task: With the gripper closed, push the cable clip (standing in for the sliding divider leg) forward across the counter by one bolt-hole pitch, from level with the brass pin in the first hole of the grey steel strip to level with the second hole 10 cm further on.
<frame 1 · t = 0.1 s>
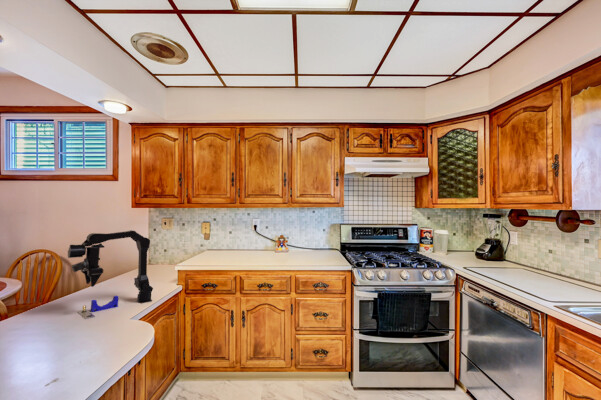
hand: (90, 285, 143), 15 cm above the table, fingers open, 9 cm apart
steel strip: (85, 314, 139), on the table
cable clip: (104, 309, 149), on the table
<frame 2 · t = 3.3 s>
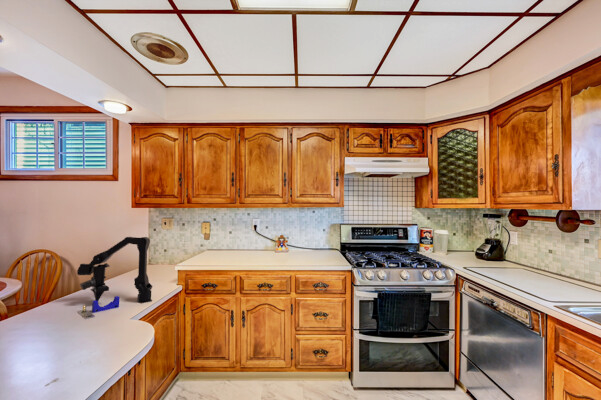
hand: (96, 301, 157), 1 cm above the table, fingers closed
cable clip: (105, 309, 148), on the table
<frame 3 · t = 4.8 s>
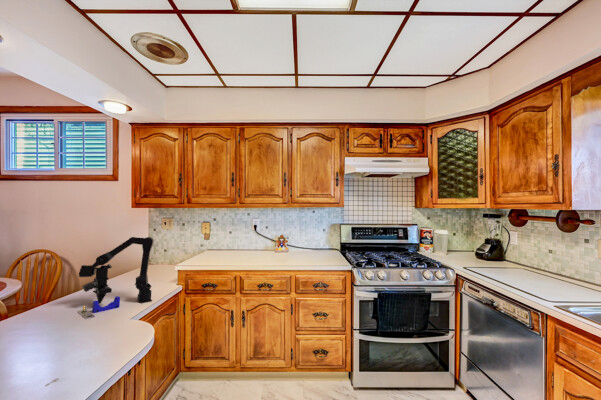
hand: (99, 303, 154), 1 cm above the table, fingers closed
nothing on the table moved.
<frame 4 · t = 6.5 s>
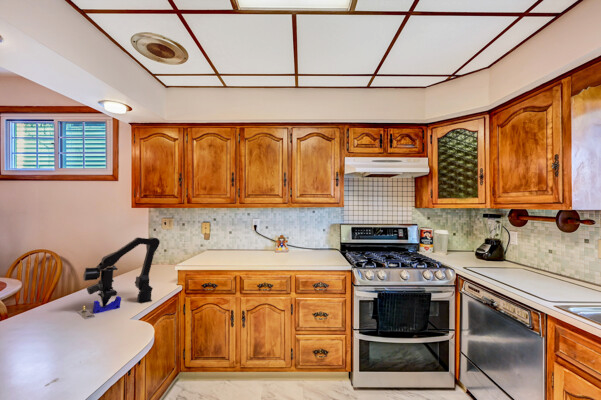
hand: (104, 306, 148), 1 cm above the table, fingers closed
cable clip: (105, 309, 146), on the table
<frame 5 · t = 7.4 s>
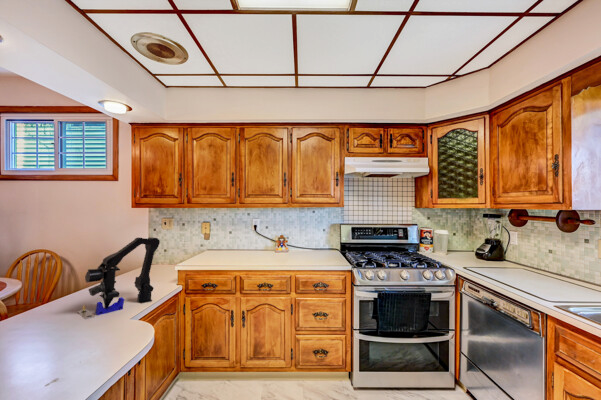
hand: (106, 307, 146), 1 cm above the table, fingers closed
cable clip: (108, 311, 144), on the table, touching gripper
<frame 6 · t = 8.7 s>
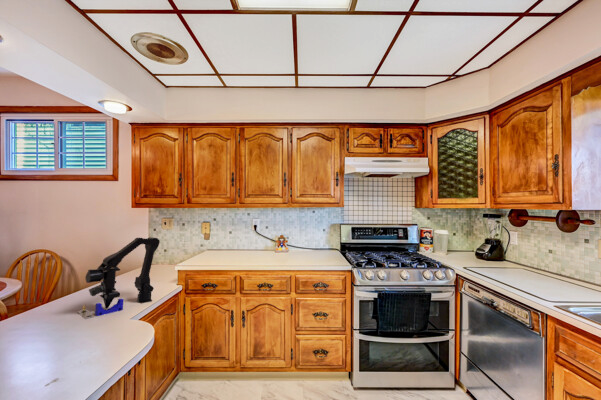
hand: (106, 308, 146), 1 cm above the table, fingers closed
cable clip: (108, 312, 143), on the table
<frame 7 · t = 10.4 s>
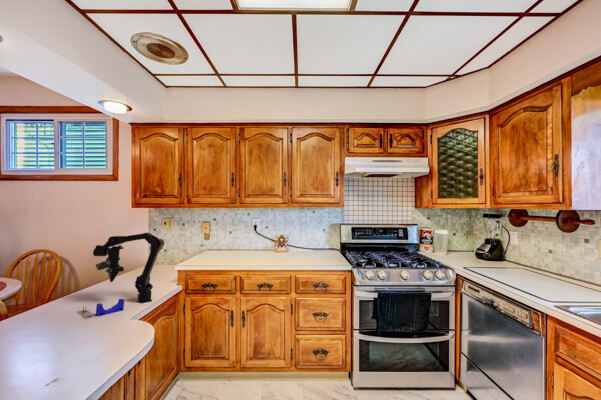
hand: (111, 282, 161), 12 cm above the table, fingers closed
nothing on the table moved.
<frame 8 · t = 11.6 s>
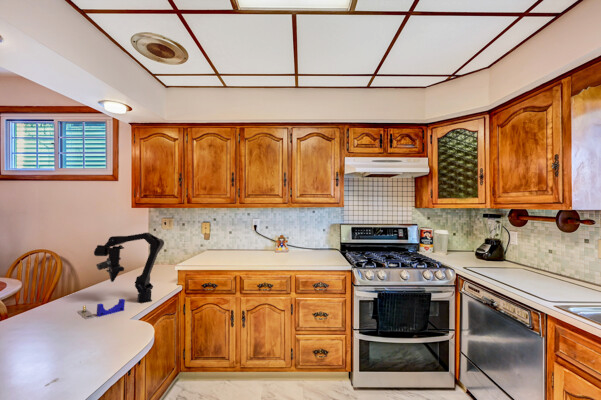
hand: (112, 281, 162), 12 cm above the table, fingers closed
at the end: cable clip inside the target area (0.5 cm from its centre), on the table; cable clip tilted 0°; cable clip moved 10.1 cm from its start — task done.
